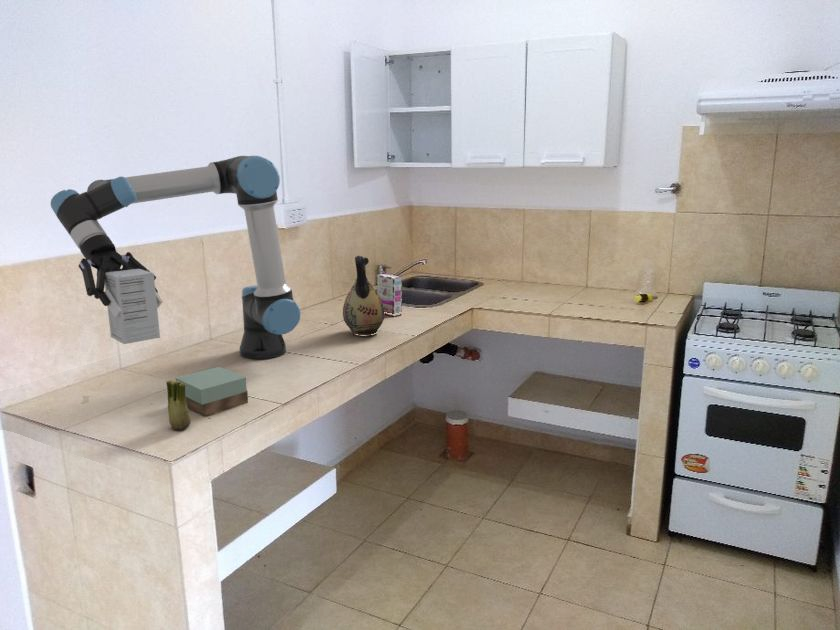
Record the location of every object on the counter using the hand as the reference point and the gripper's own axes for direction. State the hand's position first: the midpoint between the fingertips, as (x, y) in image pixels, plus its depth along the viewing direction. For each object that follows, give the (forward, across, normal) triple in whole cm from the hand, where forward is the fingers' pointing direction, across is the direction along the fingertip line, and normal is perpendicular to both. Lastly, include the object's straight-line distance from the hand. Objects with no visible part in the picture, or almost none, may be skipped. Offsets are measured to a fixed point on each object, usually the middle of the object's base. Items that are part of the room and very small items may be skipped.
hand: (139, 309), depth 161 cm
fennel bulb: (+30, +3, -8) cm, 31 cm away
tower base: (+27, -12, -12) cm, 32 cm away
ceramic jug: (+23, -90, -16) cm, 94 cm away
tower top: (+24, -12, -10) cm, 28 cm away
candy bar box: (+17, -122, -23) cm, 126 cm away
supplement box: (+4, 0, -8) cm, 8 cm away
